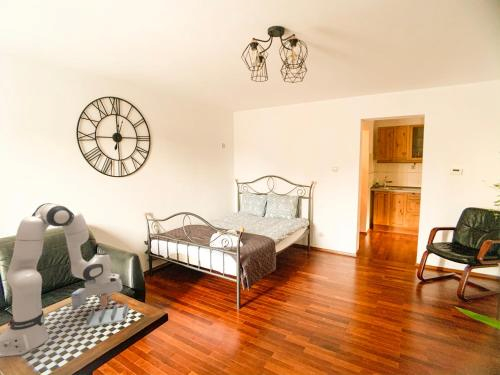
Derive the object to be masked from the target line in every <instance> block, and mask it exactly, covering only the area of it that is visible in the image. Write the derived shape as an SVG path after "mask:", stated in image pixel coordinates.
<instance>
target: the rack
mask: <svg viewBox="0 0 500 375" xmlns="http://www.w3.org/2000/svg"><path fill="white" fill-rule="evenodd" d="M117 306H118V305H117V304H114V305H113V308H112V309H106V308H107V307H106V306H104V307H102V310H100V311H95V308H93V307H92V308H91V311H90V312H89V314H88V316H87V318H86V324H85V329H88V328H94V327H98V326H99V325H100V326H103V325H104V324H105V325H111V324H114V323H116V324H117V323H120V322H124V321H125V322H126V321H127V316H128V313H129V309H130V306H129V305H128V302H125V304H124V306H123V307H117ZM105 325H104V326H105ZM100 326H99V327H100Z"/></svg>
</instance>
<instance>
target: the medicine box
mask: <svg viewBox="0 0 500 375" xmlns="http://www.w3.org/2000/svg"><path fill="white" fill-rule="evenodd" d="M85 289H86V288H85V287H84V288H83V287H82V288H78V289H77V290H75V291H73V292H72V293H71V295H70V297H71V298H70V299H71V308H80V307H81V306H82V305H83V304H84V303H85V302H87V300H88V299H87V298H88V296H86V295H85Z"/></svg>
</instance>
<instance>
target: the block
mask: <svg viewBox="0 0 500 375" xmlns="http://www.w3.org/2000/svg"><path fill="white" fill-rule="evenodd" d="M108 296H109V293H106V294H100V301H99V302H100V309H101V308H102V309H103V307H104V306H106V308H107V307H108V304H109V301H110V300H107V297H108Z"/></svg>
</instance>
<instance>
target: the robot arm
mask: <svg viewBox="0 0 500 375" xmlns="http://www.w3.org/2000/svg"><path fill="white" fill-rule="evenodd" d="M49 226H51V227H52V226H53V227H61V228H62V229H63V232H64V236H65V240H66V249H67V250H66V251H67V254H68V258H69V260H68V261H69V267H68V272H69V275H70V276H71V277H72V278H77V279H82V280H85V282H84V288H85V295H86V297H91V296H92V297H93V296H96V297H97V299H98V300H99V302H101V301H100V296H101V294H106V293H109V296H108V297H107V300H109V301H110V300H111V296H112V294H113V293H119V292H122V290H123V282H122V279H121V278H120V274H119V273H112V271H111V266H112V265H111V264H112V262H111V258H110V255H109V253H106V252H97V253H95V254H94V256H93V257H92V258H91V259H90V260H89V261H86V260H85V259H83V256H82V252H81V245H83V244H85V243H86V242H88V240H89V237H90V232H89V231H90V230H89V228H88V225H87V222H86V219H85V218H84V216H83V214H82V213H81V212H80V211H78V210H70V209H68V207H65V206H64V205H60V204H57V203H51V202H48V203H47V202H45V203H43V204H40V205H39V206H37V208H36V209H35V210H34V212H33V213H32V215H31V216H28V217H25V218H23V219H21V221H20V223H19V225H18V228H17V231H16V235H15V240H14V247H13V251H12V257H11V260H10V263H9V266H8V270H7V272H6V282H7V283H8V285H9V286H10V288H11V292H12V301H11V302H12V303H11V310H12V319H11V320H9V322H8V323H7V328H6V330H5V331H3V332H2V333H1V334H0V358H2V357H14V356H22V355H25V354H27V353H28V352H29V351H31V350H34V349H36V348H38V347H40V346H41V345H43V344H44V343H46V342H47V340H49V338H50V334H49V332H48V330H47V328H46V324H45V314H44V313H45V312H44V310H43V305H42V286H43V285H42V284H43V278H42V274H41V273H40V272H39V271H38V270H37V268H38V262H39V260H40V258H41V256H42V254H43V249H44V242H45V233H46V230H47V229H48V227H49Z"/></svg>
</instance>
